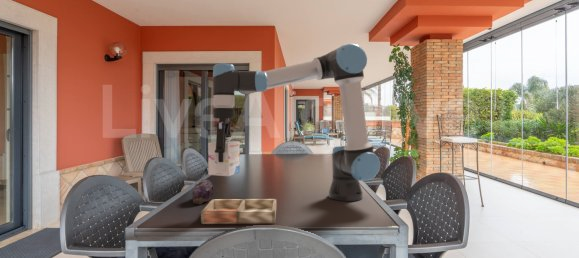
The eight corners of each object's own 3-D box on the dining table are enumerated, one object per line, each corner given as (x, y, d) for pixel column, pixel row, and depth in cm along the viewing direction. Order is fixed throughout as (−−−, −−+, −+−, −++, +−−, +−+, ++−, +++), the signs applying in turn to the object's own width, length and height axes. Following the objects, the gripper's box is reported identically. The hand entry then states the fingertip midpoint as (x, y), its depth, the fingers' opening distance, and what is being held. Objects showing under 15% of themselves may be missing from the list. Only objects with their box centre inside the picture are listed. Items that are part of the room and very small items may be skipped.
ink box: (220, 171, 123) (220, 136, 123) (240, 172, 121) (240, 136, 120) (207, 175, 115) (207, 137, 115) (228, 176, 112) (228, 137, 112)
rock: (189, 208, 134) (214, 206, 135) (187, 188, 132) (212, 187, 133) (193, 196, 145) (216, 195, 146) (192, 178, 143) (215, 177, 145)
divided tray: (276, 209, 127) (276, 198, 127) (274, 223, 110) (274, 210, 110) (212, 209, 127) (212, 198, 127) (200, 223, 110) (200, 211, 109)
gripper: (219, 108, 128) (220, 164, 129) (205, 106, 106) (206, 174, 106) (238, 108, 128) (239, 164, 129) (228, 106, 106) (229, 174, 106)
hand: (224, 168), depth 118 cm, fingers closed on ink box, 10 cm apart
